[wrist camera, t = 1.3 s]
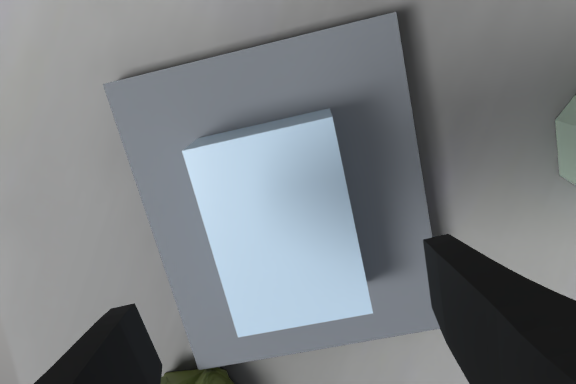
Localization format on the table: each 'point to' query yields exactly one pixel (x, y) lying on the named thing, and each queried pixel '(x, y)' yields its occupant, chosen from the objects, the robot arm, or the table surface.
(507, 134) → the table surface
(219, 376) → the pear
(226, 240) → the block
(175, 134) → the mat
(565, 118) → the bowl
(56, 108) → the table surface
